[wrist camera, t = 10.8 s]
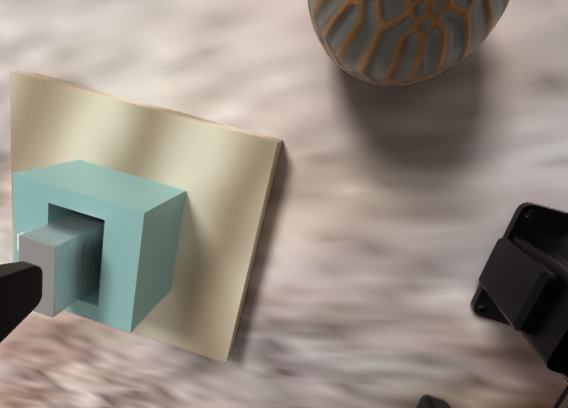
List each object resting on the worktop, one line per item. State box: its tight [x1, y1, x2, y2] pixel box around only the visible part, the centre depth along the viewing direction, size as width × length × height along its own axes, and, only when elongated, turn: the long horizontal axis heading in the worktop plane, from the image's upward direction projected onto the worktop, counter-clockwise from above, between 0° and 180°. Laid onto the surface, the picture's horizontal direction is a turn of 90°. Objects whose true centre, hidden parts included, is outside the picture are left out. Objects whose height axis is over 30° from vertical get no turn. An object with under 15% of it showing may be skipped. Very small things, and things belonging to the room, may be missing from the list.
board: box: [10, 71, 283, 363], centre depth 20 cm, size 15×14×2 cm
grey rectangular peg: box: [19, 212, 105, 318], centre depth 17 cm, size 2×3×6 cm, turn 166°
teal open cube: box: [13, 159, 186, 333], centre depth 18 cm, size 6×6×4 cm
